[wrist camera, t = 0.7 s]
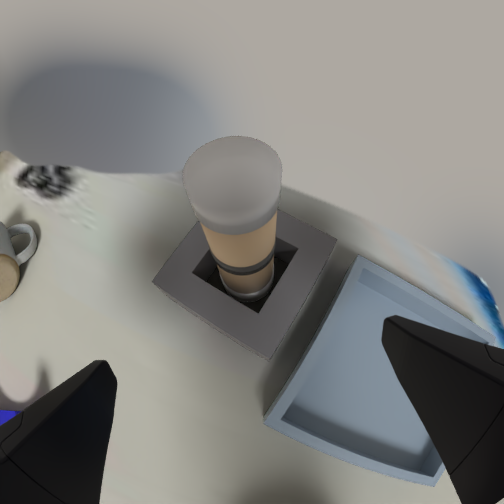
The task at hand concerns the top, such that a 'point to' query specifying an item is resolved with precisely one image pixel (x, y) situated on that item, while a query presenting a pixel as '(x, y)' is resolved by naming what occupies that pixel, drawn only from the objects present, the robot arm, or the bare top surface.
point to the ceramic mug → (13, 257)
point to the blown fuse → (237, 210)
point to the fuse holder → (233, 312)
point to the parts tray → (365, 379)
